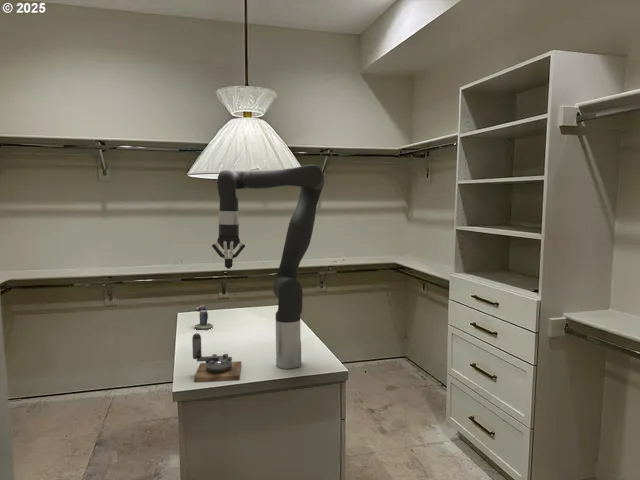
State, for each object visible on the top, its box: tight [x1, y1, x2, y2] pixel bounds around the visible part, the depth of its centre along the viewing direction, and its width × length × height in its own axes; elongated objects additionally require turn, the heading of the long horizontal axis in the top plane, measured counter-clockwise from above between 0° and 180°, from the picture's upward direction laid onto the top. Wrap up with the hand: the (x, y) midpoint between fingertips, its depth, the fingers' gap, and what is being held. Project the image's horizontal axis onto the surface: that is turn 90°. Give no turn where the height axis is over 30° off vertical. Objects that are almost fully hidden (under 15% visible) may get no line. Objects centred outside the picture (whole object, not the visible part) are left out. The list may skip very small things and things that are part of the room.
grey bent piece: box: [191, 333, 233, 373], centre depth 159 cm, size 14×9×13 cm, turn 95°
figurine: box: [194, 304, 214, 331], centre depth 217 cm, size 8×8×12 cm
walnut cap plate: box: [194, 360, 242, 383], centre depth 160 cm, size 15×14×2 cm
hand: (228, 268), depth 172 cm, fingers closed
